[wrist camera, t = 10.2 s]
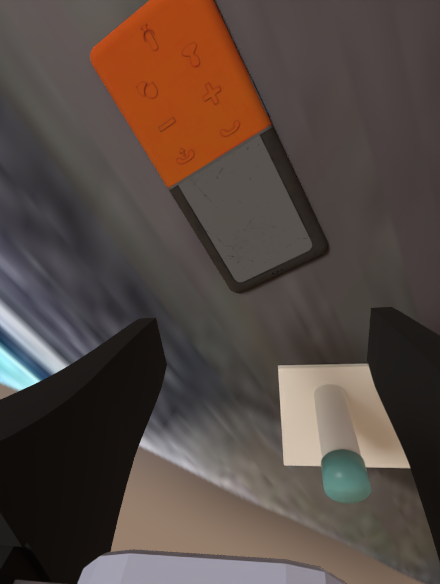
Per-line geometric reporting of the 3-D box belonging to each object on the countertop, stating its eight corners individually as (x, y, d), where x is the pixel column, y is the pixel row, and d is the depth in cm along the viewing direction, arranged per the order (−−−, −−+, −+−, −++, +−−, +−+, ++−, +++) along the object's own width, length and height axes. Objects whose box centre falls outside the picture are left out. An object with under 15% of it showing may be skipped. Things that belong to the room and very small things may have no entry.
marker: (346, 381, 24) (371, 474, 18) (348, 408, 25) (371, 504, 19) (311, 383, 24) (322, 473, 18) (313, 409, 25) (325, 502, 19)
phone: (194, -45, 15) (332, 253, 20) (199, -33, 16) (328, 245, 21) (80, 52, 17) (232, 299, 22) (92, 56, 18) (234, 290, 23)
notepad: (499, 360, 22) (502, 363, 22) (469, 466, 26) (471, 469, 26) (278, 365, 24) (278, 368, 24) (283, 462, 29) (284, 465, 28)
